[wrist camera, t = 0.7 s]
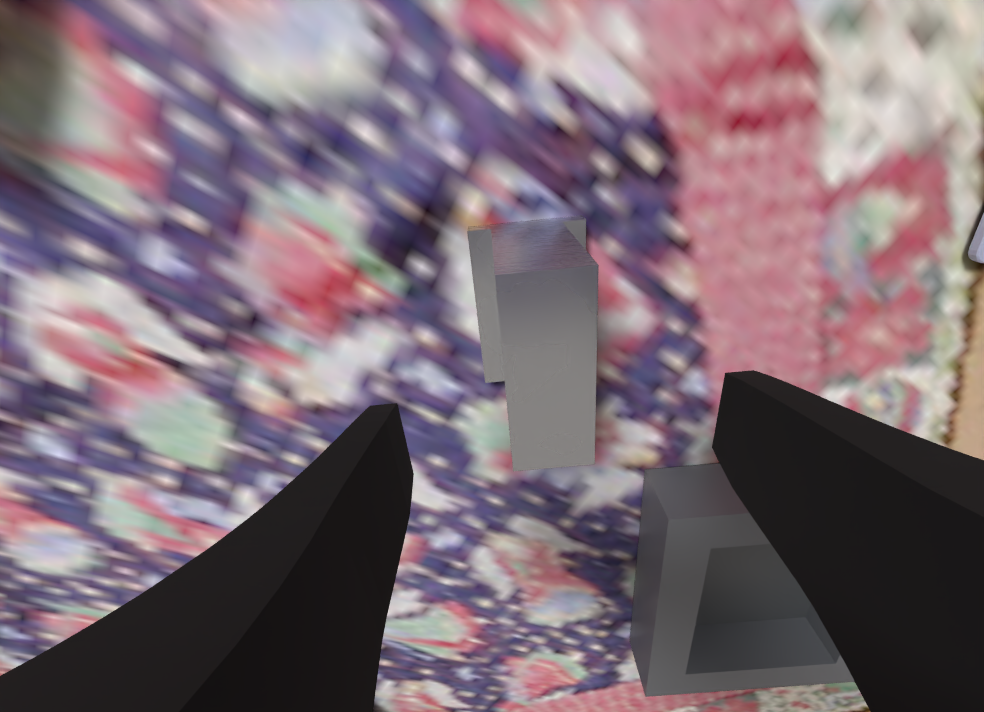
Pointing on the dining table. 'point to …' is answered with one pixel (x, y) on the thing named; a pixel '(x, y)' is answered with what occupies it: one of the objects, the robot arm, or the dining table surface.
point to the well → (718, 595)
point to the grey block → (540, 335)
